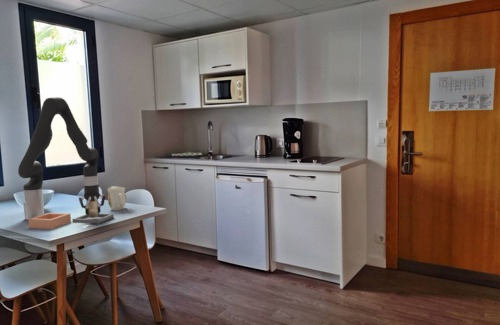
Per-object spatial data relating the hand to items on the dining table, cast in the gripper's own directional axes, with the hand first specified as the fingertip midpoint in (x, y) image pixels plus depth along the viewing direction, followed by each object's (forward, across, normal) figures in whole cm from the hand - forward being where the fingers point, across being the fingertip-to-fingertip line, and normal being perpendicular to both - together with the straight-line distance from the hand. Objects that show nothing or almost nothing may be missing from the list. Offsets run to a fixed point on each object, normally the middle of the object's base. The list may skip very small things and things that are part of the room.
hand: (93, 214), depth 208 cm
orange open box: (+4, -21, +1) cm, 22 cm away
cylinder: (+1, 0, 0) cm, 1 cm away
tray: (+4, 0, 0) cm, 4 cm away
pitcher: (+4, +18, +22) cm, 28 cm away
